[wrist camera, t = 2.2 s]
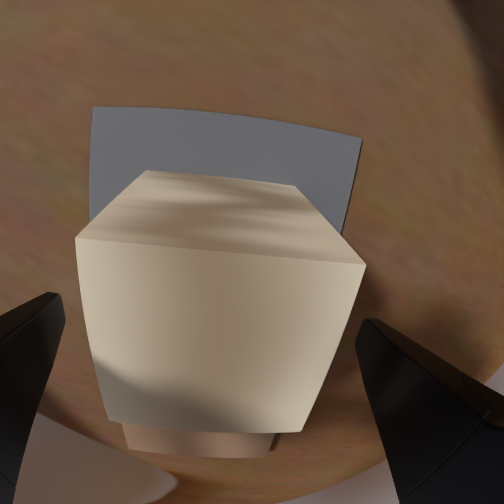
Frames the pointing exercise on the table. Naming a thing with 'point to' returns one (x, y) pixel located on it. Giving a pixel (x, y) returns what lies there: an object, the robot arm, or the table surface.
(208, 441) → the walnut pad
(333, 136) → the gray tile
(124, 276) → the maple block
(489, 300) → the table surface
